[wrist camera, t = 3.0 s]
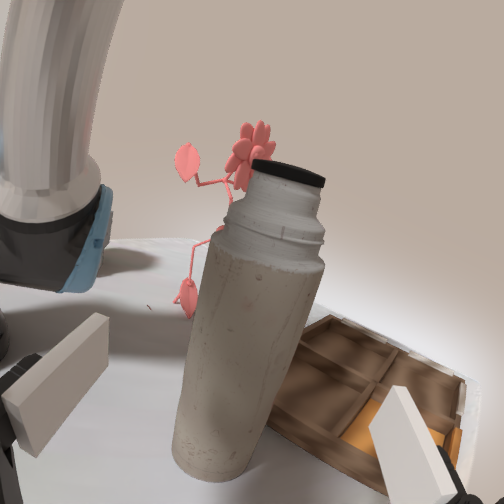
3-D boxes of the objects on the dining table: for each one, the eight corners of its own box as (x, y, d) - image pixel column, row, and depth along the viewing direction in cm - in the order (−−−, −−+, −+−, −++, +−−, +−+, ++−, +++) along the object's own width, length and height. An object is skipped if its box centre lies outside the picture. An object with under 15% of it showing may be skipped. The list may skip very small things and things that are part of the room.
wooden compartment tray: (218, 388, 38) (225, 363, 37) (324, 328, 62) (331, 310, 61) (426, 514, 21) (449, 493, 19) (456, 394, 45) (467, 376, 44)
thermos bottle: (247, 432, 32) (332, 178, 24) (248, 488, 24) (368, 187, 17) (177, 419, 31) (234, 152, 24) (165, 473, 23) (228, 147, 16)
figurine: (134, 309, 51) (178, 96, 41) (227, 285, 72) (269, 132, 63) (197, 359, 43) (264, 104, 34) (283, 316, 65) (337, 148, 55)
